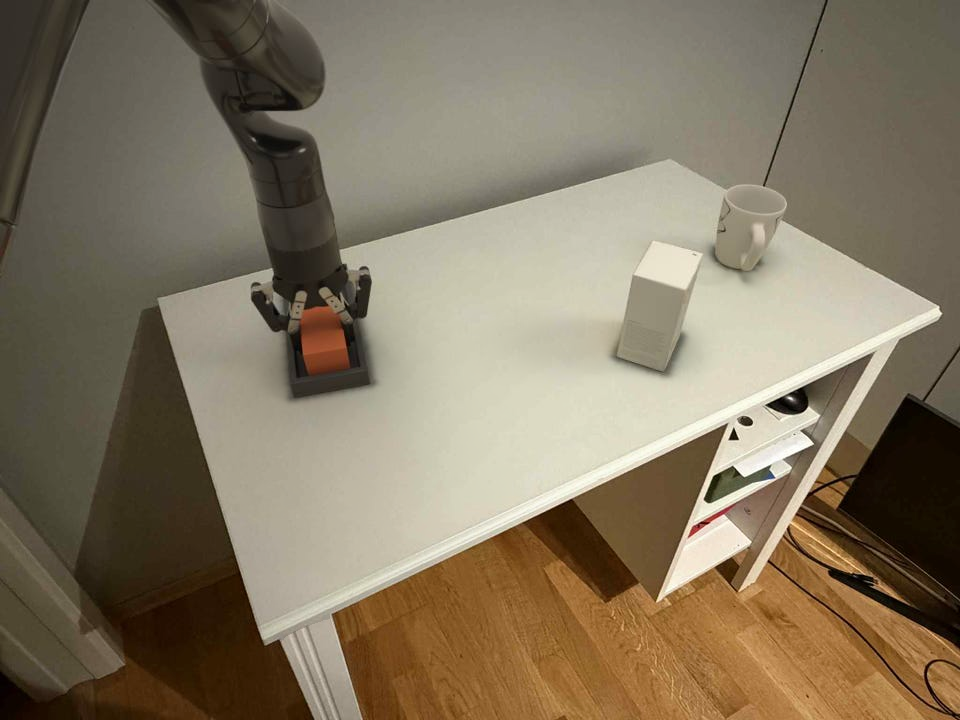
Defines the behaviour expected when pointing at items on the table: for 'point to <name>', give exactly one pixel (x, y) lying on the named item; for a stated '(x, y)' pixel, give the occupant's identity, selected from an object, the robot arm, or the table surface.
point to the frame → (330, 380)
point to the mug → (747, 224)
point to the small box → (658, 304)
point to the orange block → (323, 341)
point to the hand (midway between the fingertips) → (325, 345)
